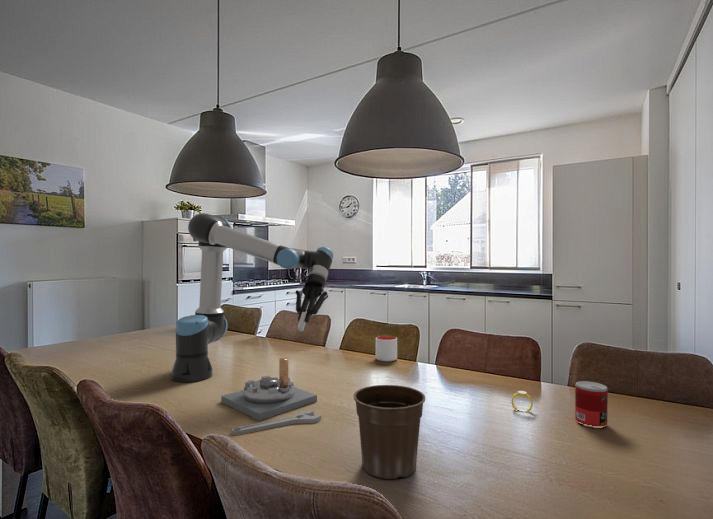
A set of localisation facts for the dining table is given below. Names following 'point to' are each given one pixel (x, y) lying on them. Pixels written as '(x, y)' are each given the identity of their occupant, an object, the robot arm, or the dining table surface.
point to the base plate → (268, 410)
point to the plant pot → (389, 429)
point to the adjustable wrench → (279, 422)
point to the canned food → (591, 403)
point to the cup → (386, 348)
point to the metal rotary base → (270, 387)
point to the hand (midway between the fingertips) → (300, 328)
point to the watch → (522, 395)
